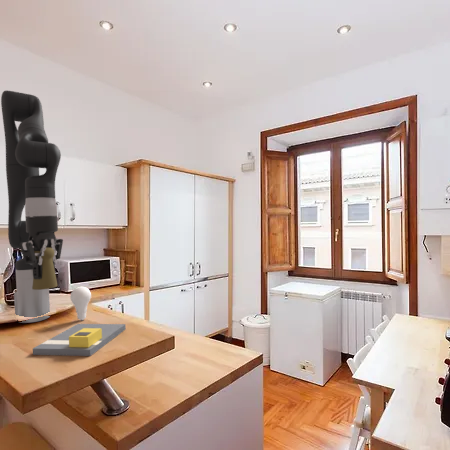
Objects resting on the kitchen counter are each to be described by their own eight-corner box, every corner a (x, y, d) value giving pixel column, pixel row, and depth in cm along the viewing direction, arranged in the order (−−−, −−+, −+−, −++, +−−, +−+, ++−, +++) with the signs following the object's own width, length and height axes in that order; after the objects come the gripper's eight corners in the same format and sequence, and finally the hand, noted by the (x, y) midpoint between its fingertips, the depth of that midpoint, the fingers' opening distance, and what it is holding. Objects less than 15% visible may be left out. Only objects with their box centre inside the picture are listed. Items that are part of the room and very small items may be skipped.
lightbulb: (96, 318, 102) (94, 285, 102) (78, 324, 97) (77, 289, 97) (84, 316, 105) (83, 284, 105) (67, 321, 100) (66, 287, 100)
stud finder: (69, 347, 74) (68, 336, 74) (84, 337, 80) (83, 327, 80) (88, 347, 74) (88, 336, 74) (102, 338, 80) (101, 327, 80)
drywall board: (32, 354, 75) (32, 348, 75) (78, 328, 93) (78, 323, 93) (90, 355, 73) (90, 349, 73) (125, 329, 91) (125, 324, 90)
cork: (29, 287, 85) (27, 247, 85) (53, 284, 90) (51, 246, 89) (36, 290, 81) (34, 248, 81) (60, 286, 85) (59, 246, 85)
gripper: (47, 215, 93) (50, 273, 93) (7, 215, 78) (11, 282, 79) (70, 214, 91) (73, 272, 92) (34, 214, 77) (37, 282, 78)
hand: (44, 277), depth 85 cm, fingers closed on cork, 4 cm apart
